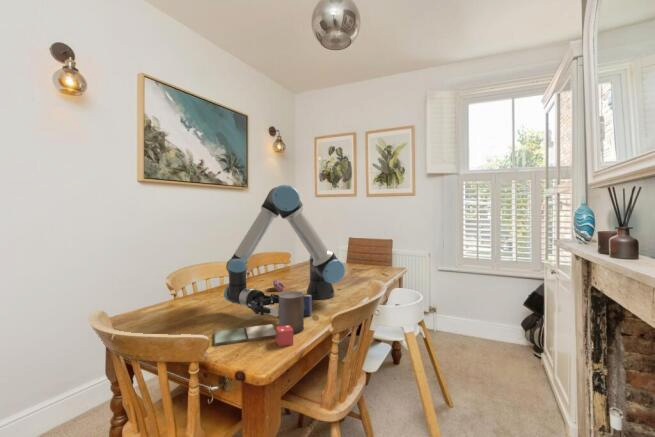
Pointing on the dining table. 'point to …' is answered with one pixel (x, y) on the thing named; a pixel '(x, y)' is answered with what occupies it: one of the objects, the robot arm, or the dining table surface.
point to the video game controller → (278, 285)
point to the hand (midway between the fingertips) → (290, 307)
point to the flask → (307, 304)
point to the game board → (244, 334)
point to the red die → (284, 335)
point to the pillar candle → (291, 310)
